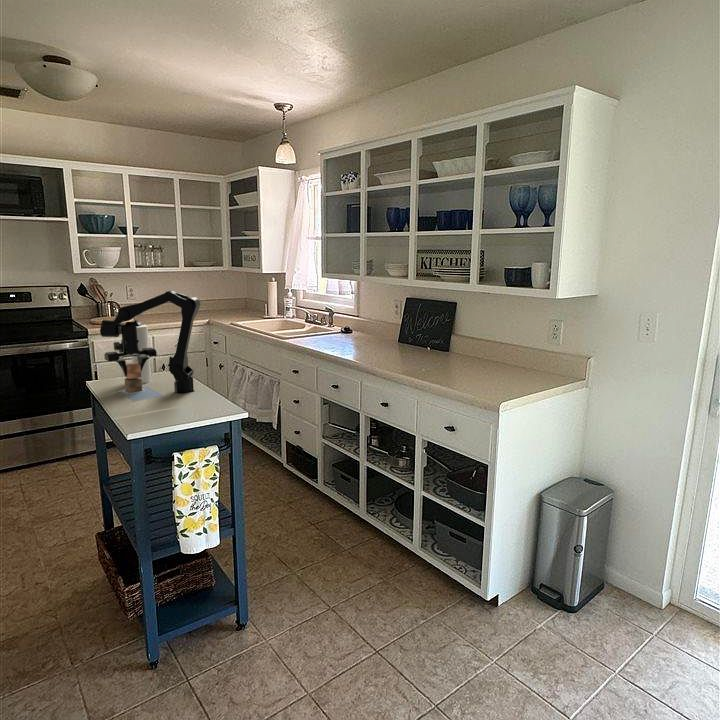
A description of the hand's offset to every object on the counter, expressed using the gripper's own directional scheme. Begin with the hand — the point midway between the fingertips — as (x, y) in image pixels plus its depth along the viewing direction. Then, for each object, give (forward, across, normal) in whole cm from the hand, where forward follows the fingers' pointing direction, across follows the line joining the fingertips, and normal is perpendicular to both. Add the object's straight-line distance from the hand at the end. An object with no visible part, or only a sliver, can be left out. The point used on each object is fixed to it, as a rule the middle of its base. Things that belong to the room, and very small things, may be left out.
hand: (132, 375), depth 213 cm
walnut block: (+7, 0, 0) cm, 7 cm away
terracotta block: (+1, 0, 0) cm, 1 cm away
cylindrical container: (+7, -8, -13) cm, 17 cm away
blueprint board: (+7, -1, +6) cm, 9 cm away
